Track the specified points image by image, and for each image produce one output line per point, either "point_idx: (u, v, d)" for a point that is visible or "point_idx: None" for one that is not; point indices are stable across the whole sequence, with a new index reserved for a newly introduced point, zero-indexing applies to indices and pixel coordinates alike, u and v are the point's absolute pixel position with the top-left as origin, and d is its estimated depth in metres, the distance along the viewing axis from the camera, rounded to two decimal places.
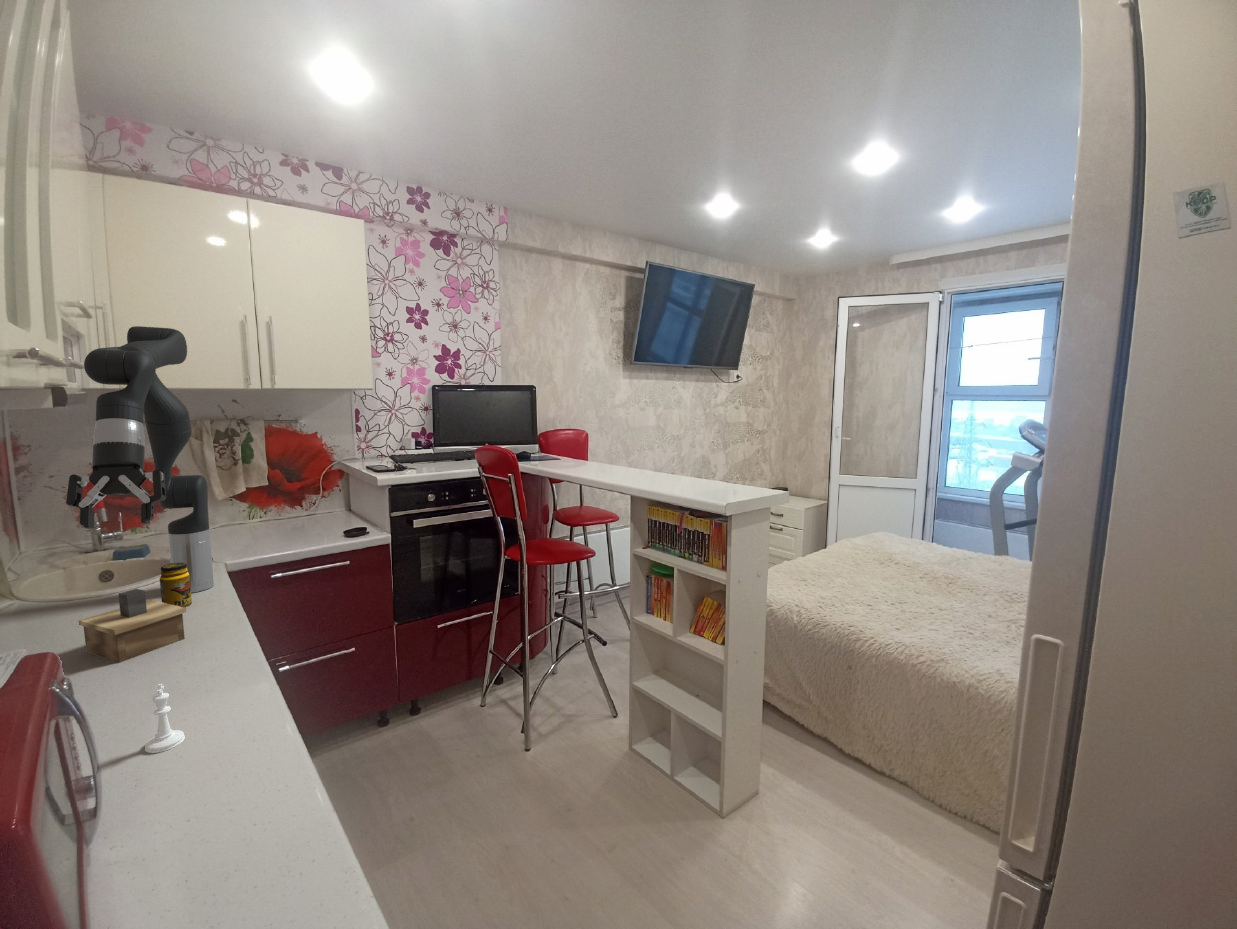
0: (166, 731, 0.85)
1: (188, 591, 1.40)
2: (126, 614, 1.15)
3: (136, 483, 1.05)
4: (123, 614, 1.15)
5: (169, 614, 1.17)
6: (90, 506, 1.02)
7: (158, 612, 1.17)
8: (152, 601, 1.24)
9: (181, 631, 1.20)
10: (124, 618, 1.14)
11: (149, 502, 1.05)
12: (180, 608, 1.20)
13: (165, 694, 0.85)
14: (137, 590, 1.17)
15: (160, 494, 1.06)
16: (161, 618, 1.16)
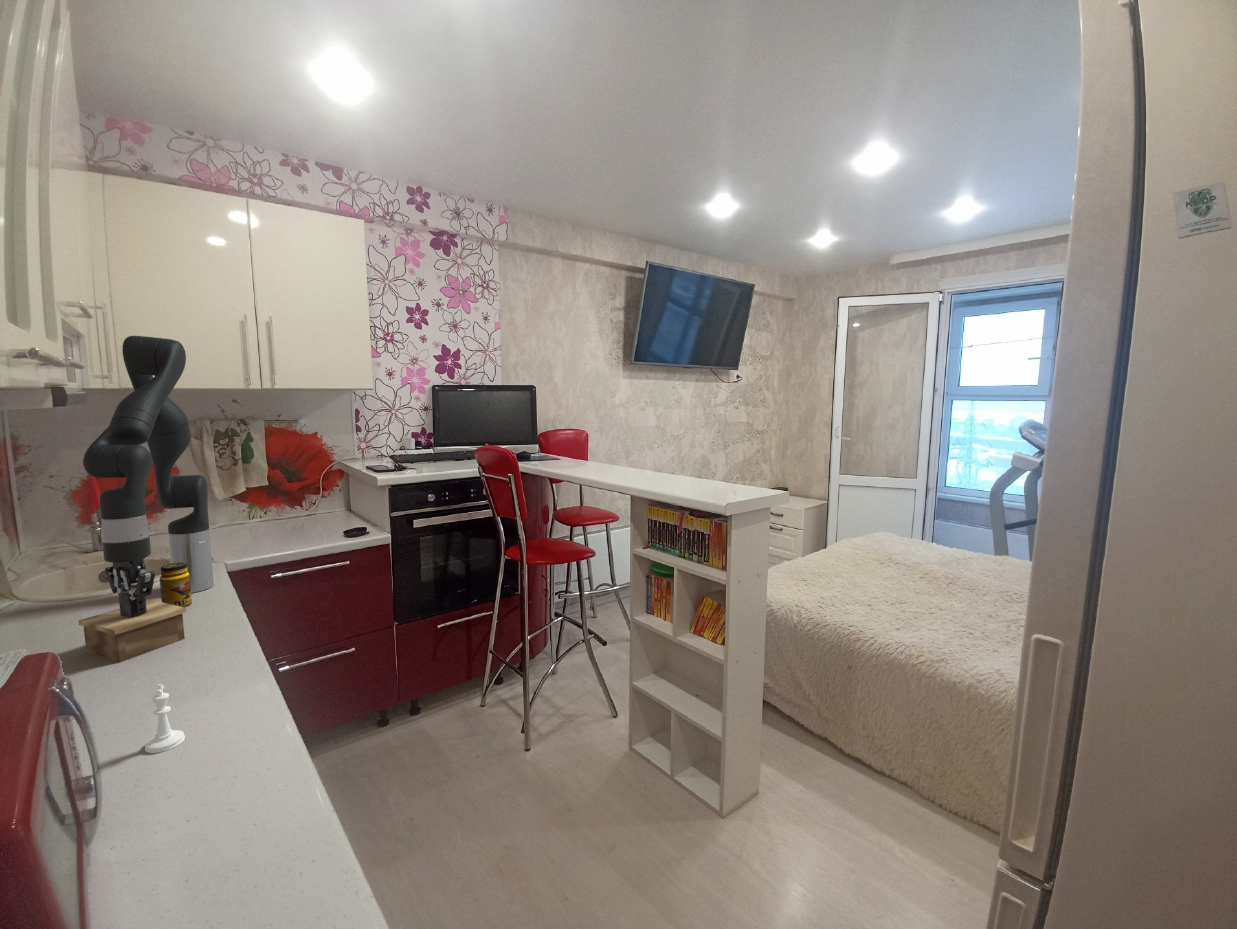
0: (166, 731, 0.85)
1: (188, 591, 1.40)
2: (126, 614, 1.15)
3: (131, 579, 1.14)
4: (123, 614, 1.15)
5: (169, 614, 1.17)
6: None
7: (158, 612, 1.17)
8: (152, 601, 1.24)
9: (181, 631, 1.20)
10: (124, 618, 1.14)
11: (134, 599, 1.14)
12: (180, 608, 1.20)
13: (165, 694, 0.85)
14: None
15: (137, 595, 1.13)
16: (161, 618, 1.16)
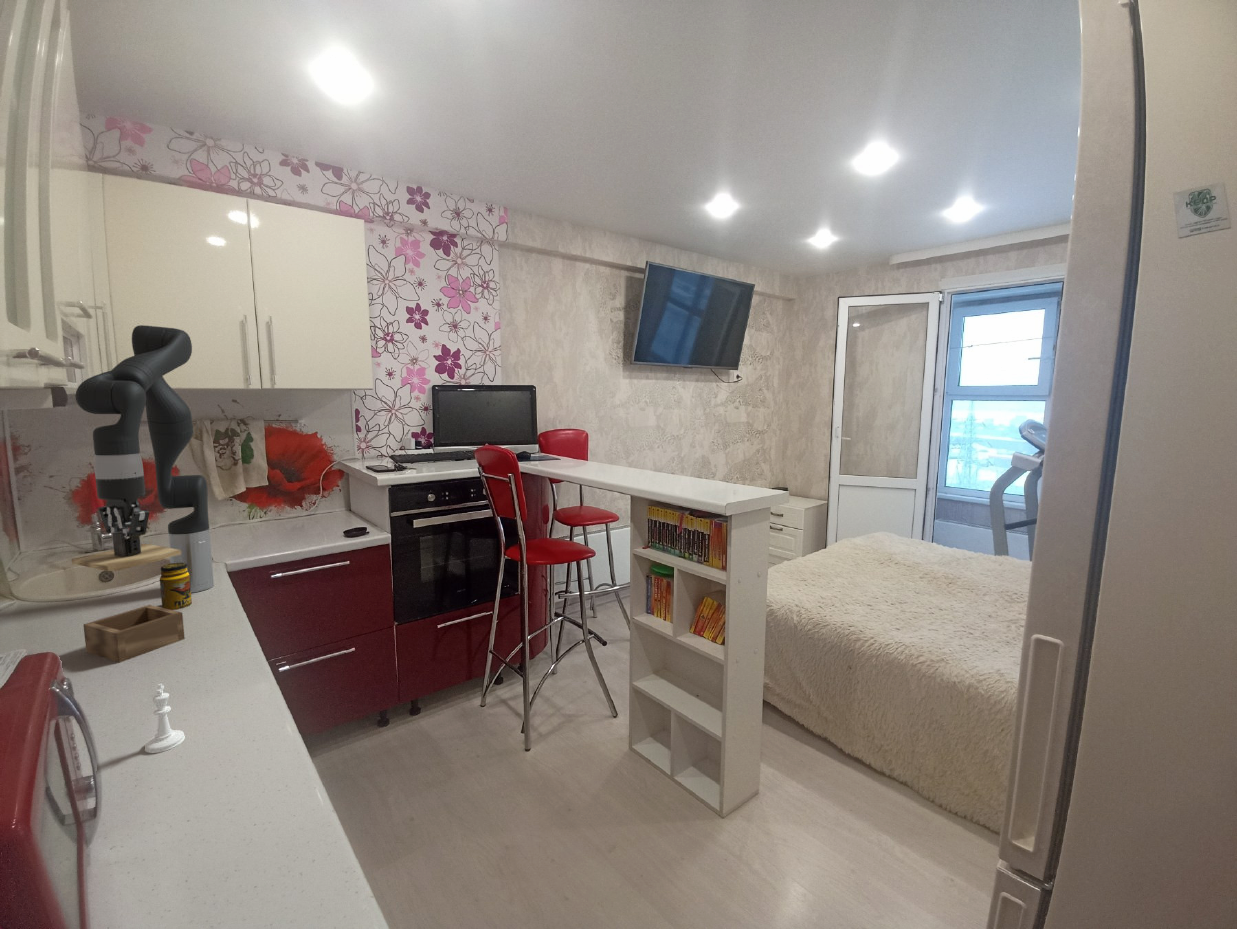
0: (166, 731, 0.85)
1: (188, 591, 1.40)
2: (120, 553, 1.13)
3: (125, 518, 1.12)
4: (117, 554, 1.14)
5: (164, 555, 1.16)
6: None
7: (152, 553, 1.16)
8: (147, 545, 1.22)
9: (181, 631, 1.20)
10: (118, 557, 1.13)
11: (128, 538, 1.13)
12: (175, 550, 1.18)
13: (165, 694, 0.85)
14: None
15: (131, 534, 1.12)
16: (155, 558, 1.14)
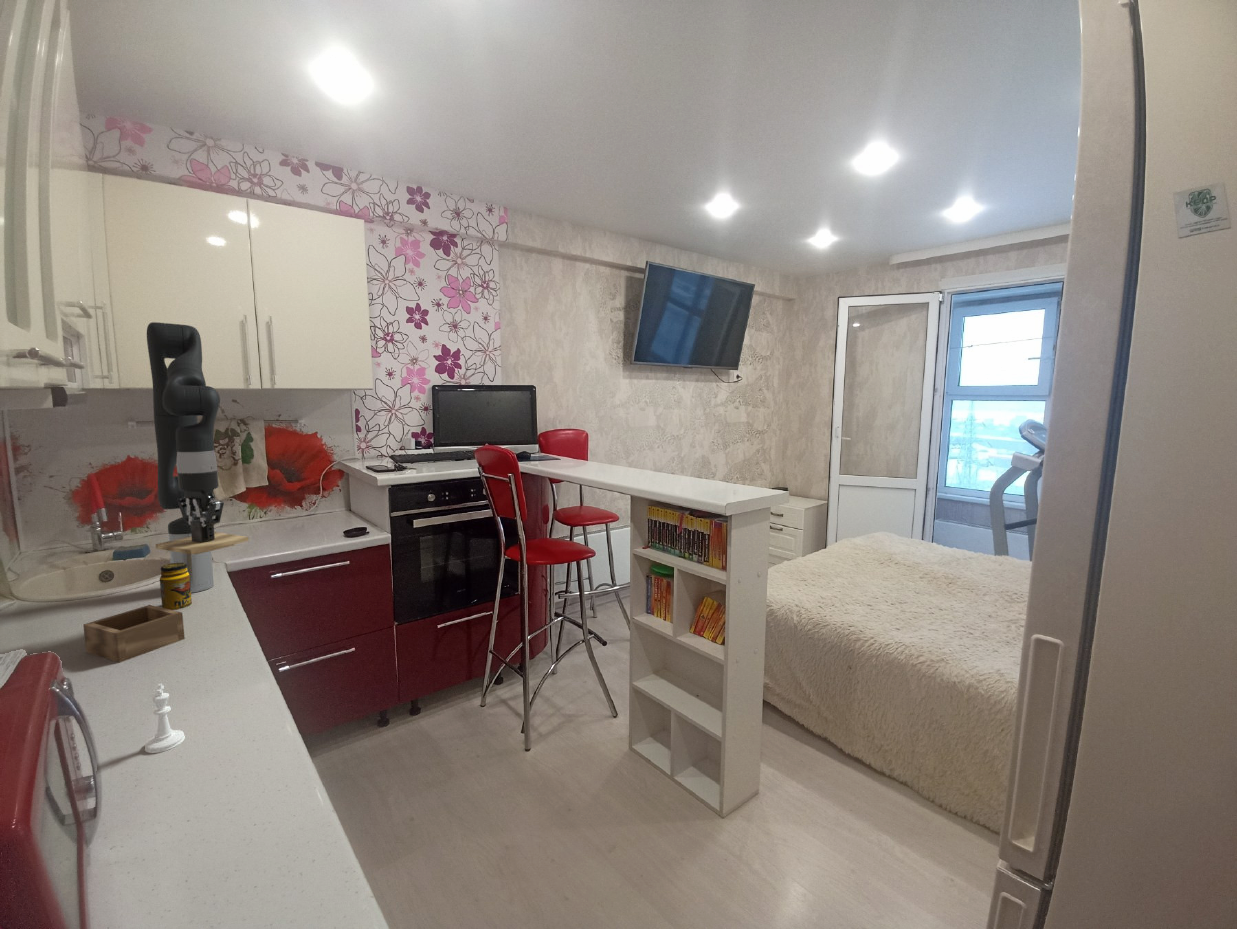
0: (166, 731, 0.85)
1: (188, 591, 1.40)
2: (197, 539, 1.27)
3: (203, 508, 1.26)
4: (194, 540, 1.28)
5: (235, 541, 1.30)
6: None
7: (225, 539, 1.30)
8: (216, 533, 1.36)
9: (181, 631, 1.20)
10: (196, 543, 1.27)
11: (205, 526, 1.27)
12: (243, 537, 1.32)
13: (165, 694, 0.85)
14: None
15: (209, 522, 1.26)
16: (228, 544, 1.28)
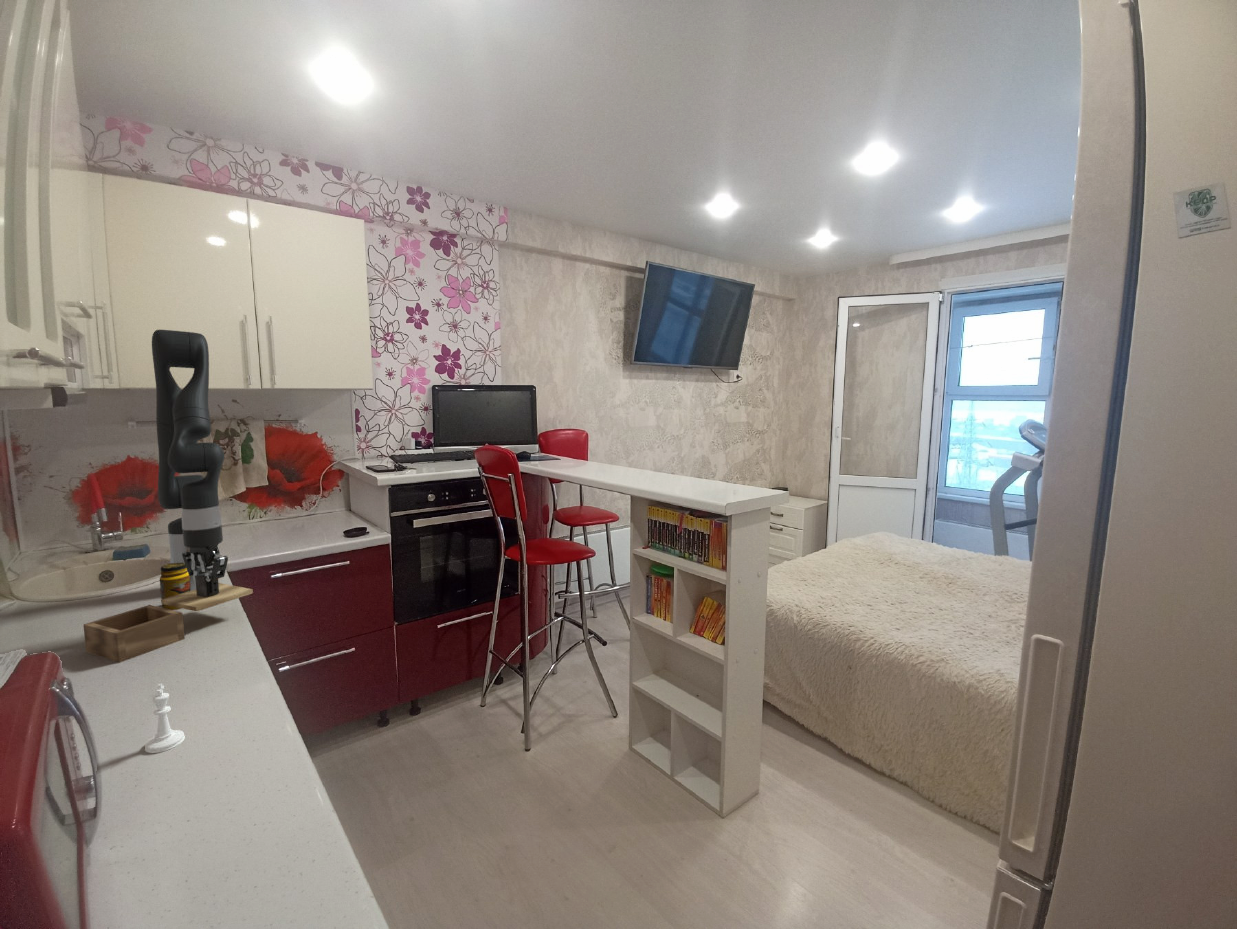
0: (166, 731, 0.85)
1: (188, 591, 1.40)
2: (202, 594, 1.29)
3: (207, 563, 1.28)
4: (199, 594, 1.29)
5: (239, 594, 1.31)
6: None
7: (229, 593, 1.31)
8: (220, 584, 1.38)
9: (181, 631, 1.20)
10: (201, 597, 1.28)
11: (210, 580, 1.28)
12: (247, 589, 1.34)
13: (165, 694, 0.85)
14: (210, 573, 1.31)
15: (213, 577, 1.27)
16: (233, 598, 1.30)
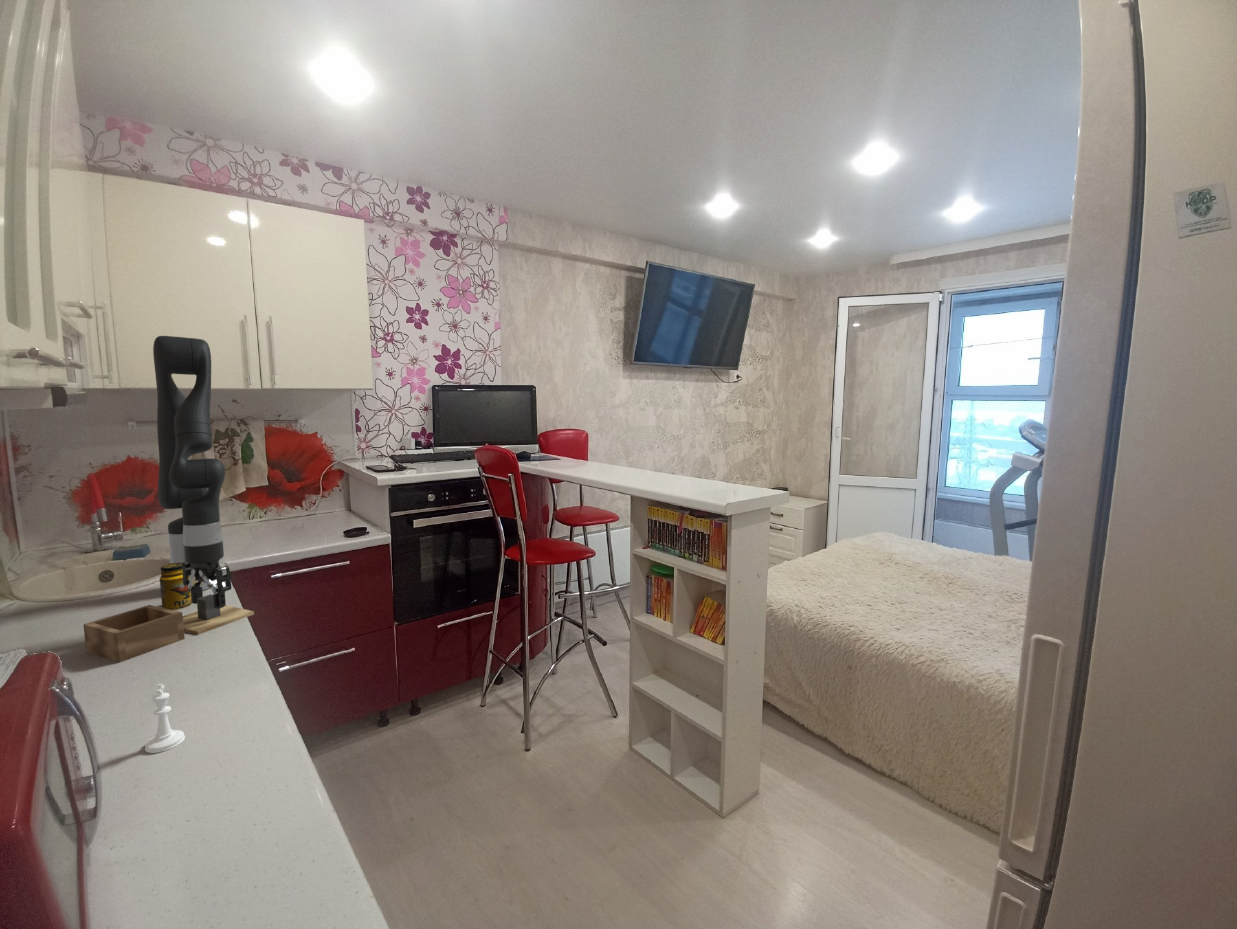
0: (166, 731, 0.85)
1: (188, 591, 1.40)
2: (204, 617, 1.29)
3: (210, 576, 1.28)
4: (201, 617, 1.30)
5: (240, 617, 1.32)
6: (196, 586, 1.32)
7: (230, 615, 1.32)
8: None
9: (181, 631, 1.20)
10: (202, 621, 1.29)
11: (217, 593, 1.28)
12: (249, 611, 1.35)
13: (165, 694, 0.85)
14: (212, 595, 1.32)
15: (220, 589, 1.27)
16: (234, 620, 1.31)
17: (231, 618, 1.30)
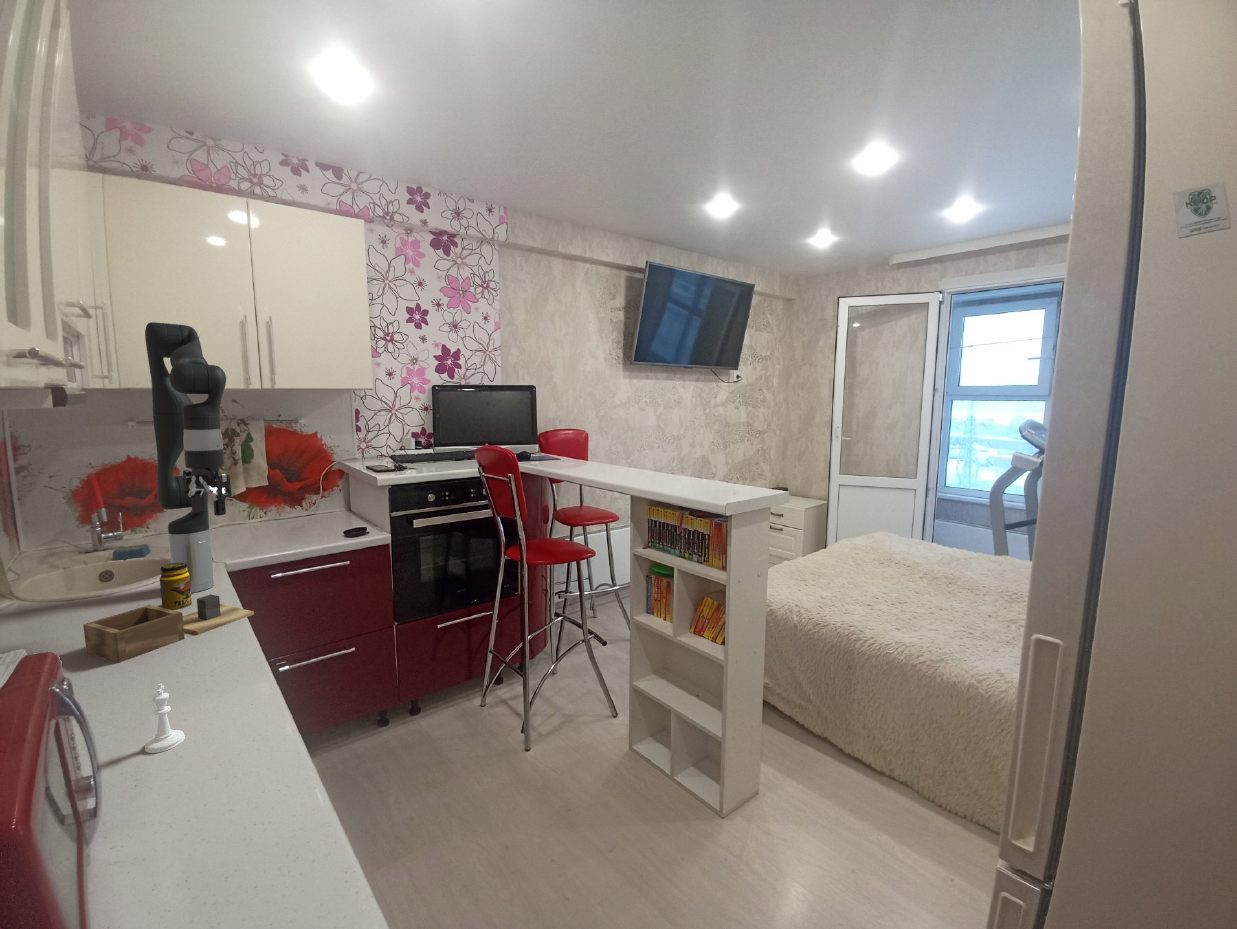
0: (166, 731, 0.85)
1: (188, 591, 1.40)
2: (204, 617, 1.29)
3: (210, 483, 1.28)
4: (201, 617, 1.30)
5: (240, 617, 1.32)
6: (196, 495, 1.32)
7: (230, 615, 1.32)
8: (222, 605, 1.38)
9: (181, 631, 1.20)
10: (202, 621, 1.29)
11: (217, 500, 1.27)
12: (249, 612, 1.35)
13: (165, 694, 0.85)
14: (212, 595, 1.32)
15: (220, 495, 1.26)
16: (234, 621, 1.31)
17: (231, 618, 1.30)
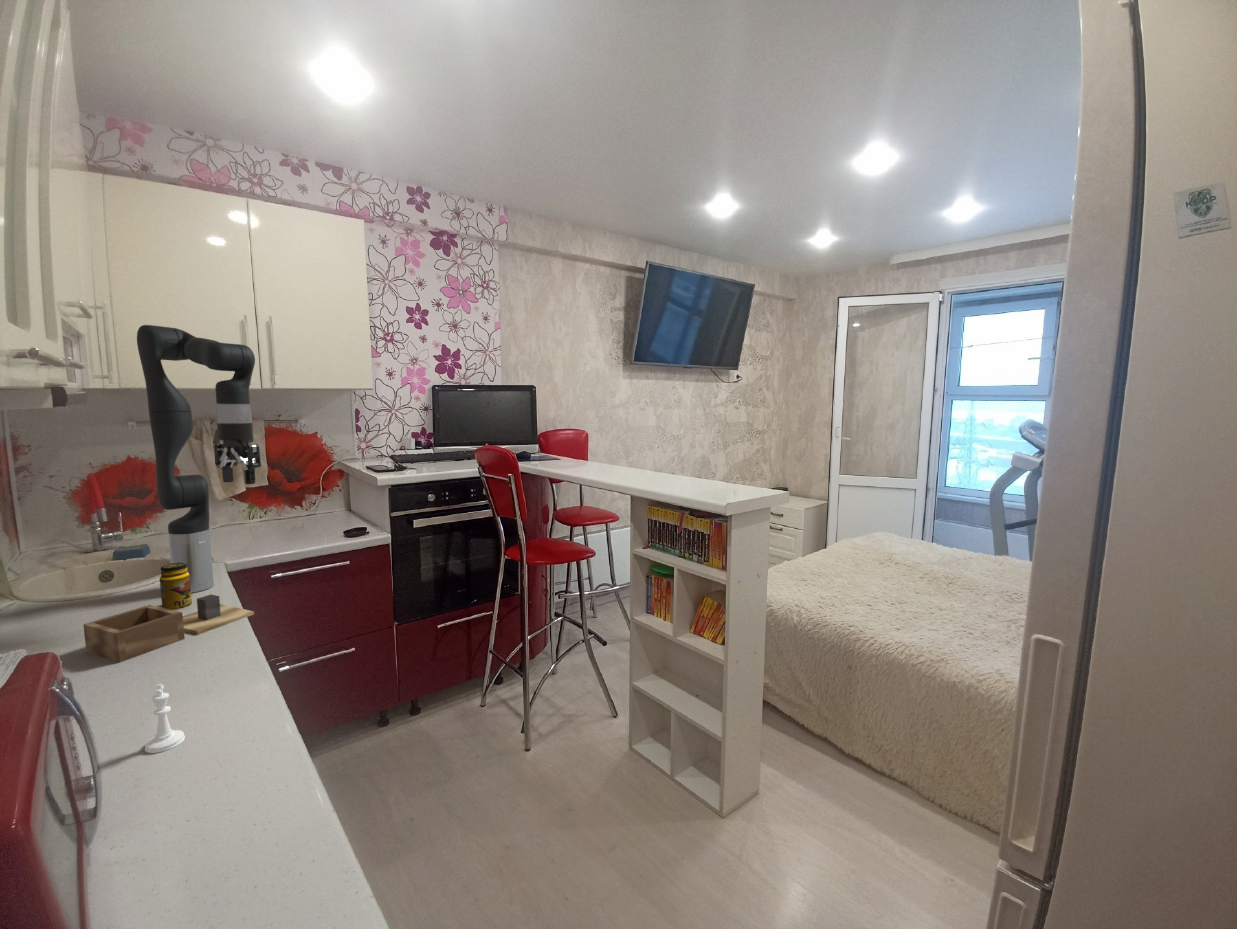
0: (166, 731, 0.85)
1: (188, 591, 1.40)
2: (204, 617, 1.29)
3: (241, 453, 1.37)
4: (201, 617, 1.30)
5: (240, 617, 1.32)
6: (227, 466, 1.41)
7: (230, 615, 1.32)
8: (222, 605, 1.38)
9: (181, 631, 1.20)
10: (202, 620, 1.29)
11: (248, 469, 1.37)
12: (249, 612, 1.35)
13: (165, 694, 0.85)
14: (212, 595, 1.32)
15: (251, 464, 1.36)
16: (234, 620, 1.31)
17: (231, 618, 1.30)
